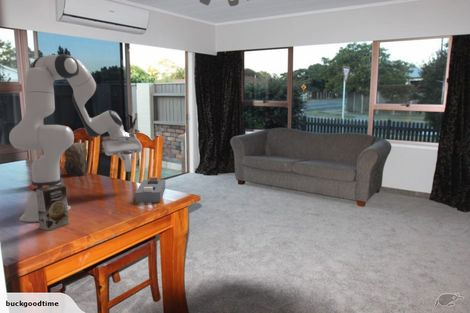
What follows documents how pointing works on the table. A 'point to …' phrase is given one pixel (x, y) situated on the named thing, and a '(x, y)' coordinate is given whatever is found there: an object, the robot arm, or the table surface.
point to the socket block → (150, 190)
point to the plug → (127, 161)
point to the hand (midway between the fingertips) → (128, 159)
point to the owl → (76, 159)
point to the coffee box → (52, 207)
